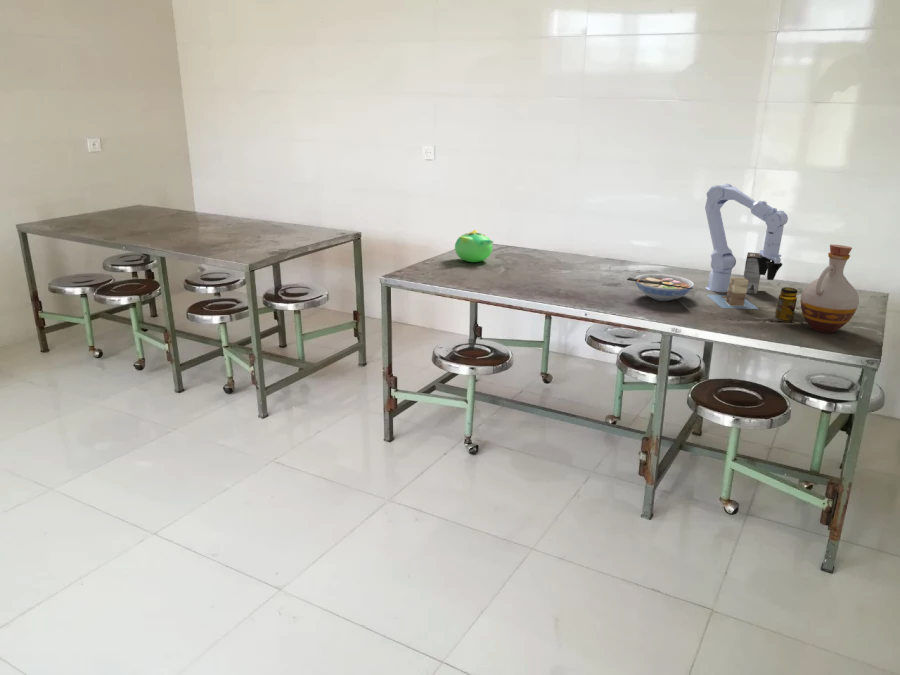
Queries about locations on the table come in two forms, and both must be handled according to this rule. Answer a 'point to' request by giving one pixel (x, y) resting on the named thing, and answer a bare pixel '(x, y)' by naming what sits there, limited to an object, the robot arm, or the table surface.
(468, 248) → the green teapot
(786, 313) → the condiment
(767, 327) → the table surface
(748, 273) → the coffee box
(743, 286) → the maple cube
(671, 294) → the ramen bowl
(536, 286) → the table surface
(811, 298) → the jug
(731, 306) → the board
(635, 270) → the table surface
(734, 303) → the walnut cube
